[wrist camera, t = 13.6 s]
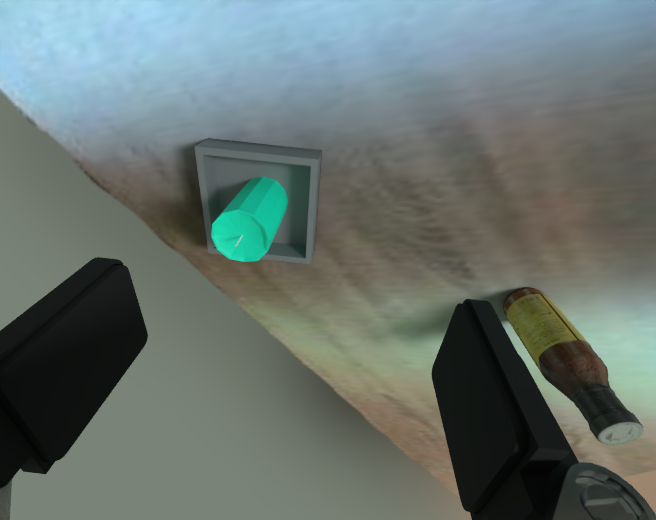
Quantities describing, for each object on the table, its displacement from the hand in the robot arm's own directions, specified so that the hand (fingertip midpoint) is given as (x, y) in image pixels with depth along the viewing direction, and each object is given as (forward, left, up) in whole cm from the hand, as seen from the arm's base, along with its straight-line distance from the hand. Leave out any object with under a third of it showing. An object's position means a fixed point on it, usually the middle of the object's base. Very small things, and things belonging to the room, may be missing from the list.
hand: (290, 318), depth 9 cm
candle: (+10, -8, -32) cm, 34 cm away
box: (+10, -9, -32) cm, 35 cm away
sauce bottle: (+22, +30, -32) cm, 49 cm away
